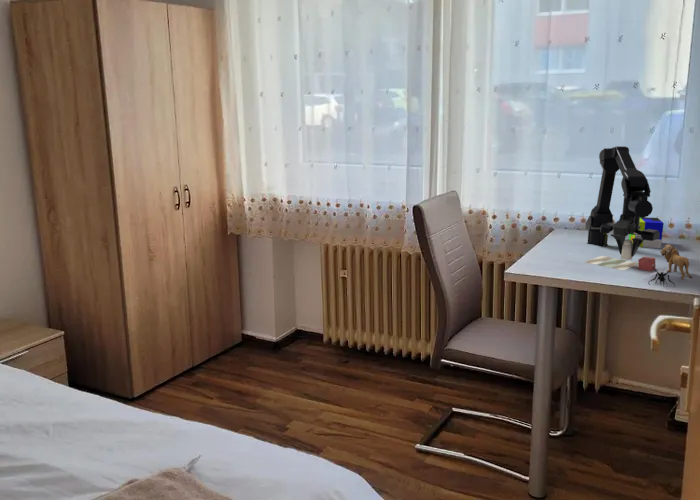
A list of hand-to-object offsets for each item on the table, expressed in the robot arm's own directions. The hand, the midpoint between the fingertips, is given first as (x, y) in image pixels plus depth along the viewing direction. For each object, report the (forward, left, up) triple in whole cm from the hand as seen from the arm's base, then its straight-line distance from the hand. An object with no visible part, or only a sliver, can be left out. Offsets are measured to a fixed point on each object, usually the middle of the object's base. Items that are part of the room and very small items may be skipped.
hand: (626, 255), depth 234 cm
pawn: (0, 0, -1) cm, 1 cm away
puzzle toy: (-11, +39, -5) cm, 41 cm away
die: (+5, +1, -2) cm, 5 cm away
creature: (+17, -11, -5) cm, 21 cm away
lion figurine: (+15, +5, -5) cm, 16 cm away
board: (-5, 0, -4) cm, 7 cm away
